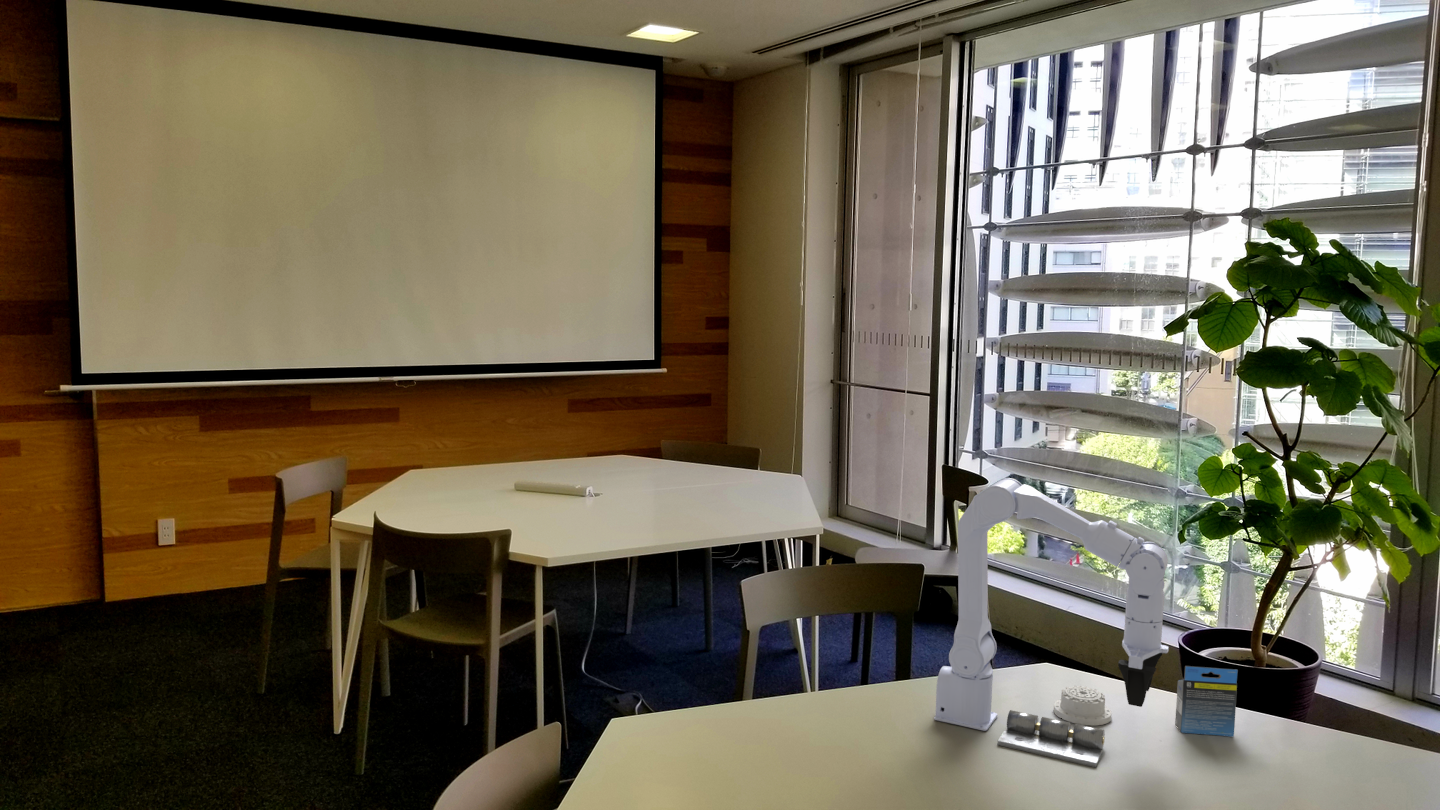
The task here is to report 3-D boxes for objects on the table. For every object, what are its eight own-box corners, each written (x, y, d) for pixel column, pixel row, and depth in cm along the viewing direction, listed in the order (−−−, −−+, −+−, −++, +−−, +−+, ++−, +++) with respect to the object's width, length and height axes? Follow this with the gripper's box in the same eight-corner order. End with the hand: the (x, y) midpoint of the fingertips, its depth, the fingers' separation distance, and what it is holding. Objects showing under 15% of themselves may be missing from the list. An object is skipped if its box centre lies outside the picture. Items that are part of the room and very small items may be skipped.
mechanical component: (1056, 724, 184) (1115, 729, 182) (1058, 700, 184) (1117, 705, 182) (1050, 702, 194) (1106, 707, 192) (1051, 680, 193) (1107, 685, 191)
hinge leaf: (997, 745, 175) (998, 724, 174) (1010, 726, 182) (1011, 706, 182) (1096, 767, 167) (1097, 746, 167) (1105, 747, 175) (1106, 726, 174)
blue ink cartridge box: (1227, 728, 183) (1232, 661, 182) (1234, 738, 179) (1239, 669, 178) (1174, 724, 184) (1178, 658, 183) (1180, 733, 181) (1184, 665, 179)
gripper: (1164, 634, 161) (1159, 717, 162) (1175, 610, 173) (1169, 687, 175) (1117, 626, 164) (1112, 708, 166) (1130, 603, 177) (1125, 679, 178)
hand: (1138, 697), depth 171 cm, fingers open, 7 cm apart
